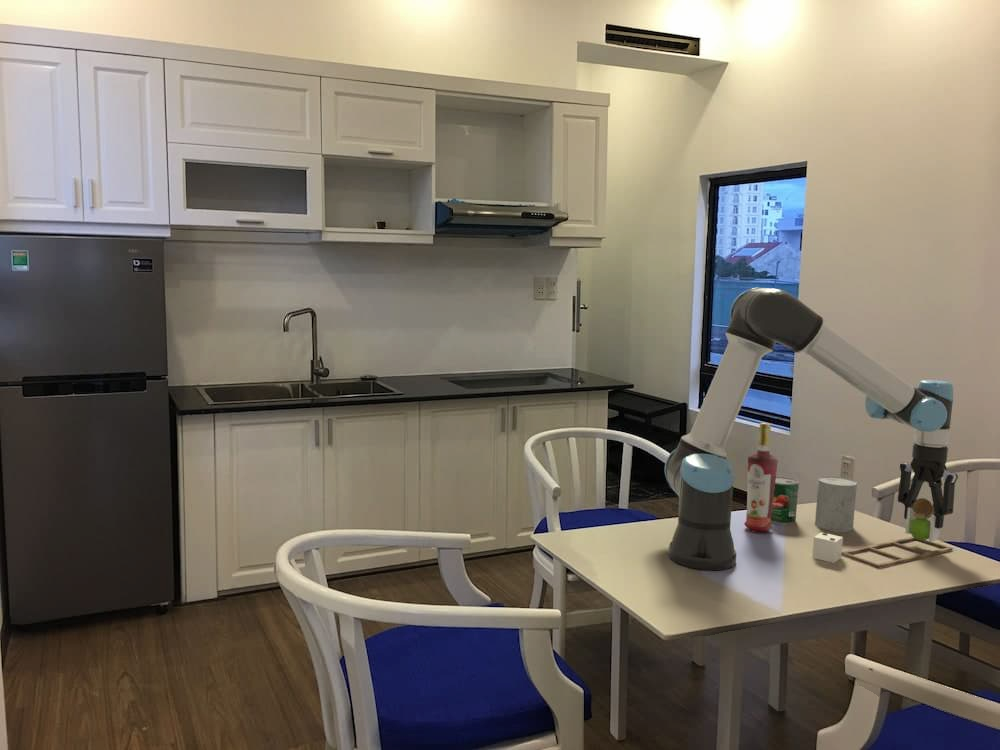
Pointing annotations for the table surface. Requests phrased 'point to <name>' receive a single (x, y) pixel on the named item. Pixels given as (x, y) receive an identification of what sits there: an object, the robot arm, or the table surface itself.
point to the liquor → (761, 484)
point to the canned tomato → (784, 501)
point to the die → (827, 547)
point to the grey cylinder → (835, 504)
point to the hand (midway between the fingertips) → (921, 536)
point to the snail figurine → (921, 519)
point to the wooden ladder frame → (898, 559)
